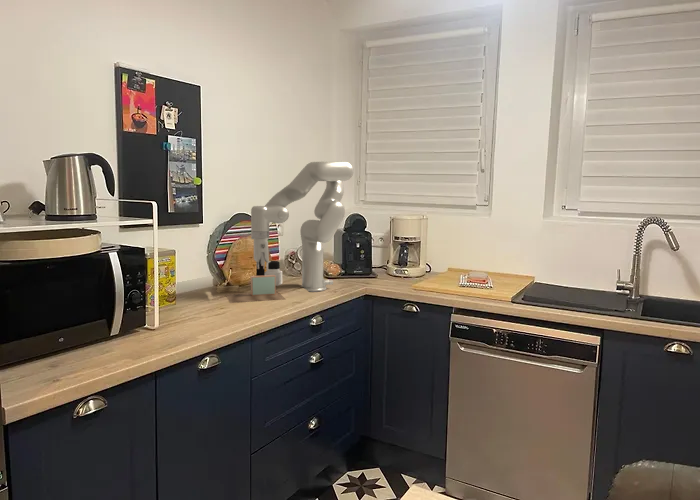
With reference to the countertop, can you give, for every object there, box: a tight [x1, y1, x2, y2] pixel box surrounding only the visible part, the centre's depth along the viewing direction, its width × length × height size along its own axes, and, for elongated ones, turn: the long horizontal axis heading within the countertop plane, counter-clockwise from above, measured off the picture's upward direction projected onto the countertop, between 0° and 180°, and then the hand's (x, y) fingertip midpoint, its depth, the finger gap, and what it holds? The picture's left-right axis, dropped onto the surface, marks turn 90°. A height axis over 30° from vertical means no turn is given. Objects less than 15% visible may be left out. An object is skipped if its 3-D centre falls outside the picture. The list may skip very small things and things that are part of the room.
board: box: [224, 290, 286, 304], centre depth 214 cm, size 22×16×2 cm
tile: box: [250, 275, 277, 296], centre depth 217 cm, size 10×2×8 cm, turn 111°
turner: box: [216, 285, 240, 293], centre depth 225 cm, size 17×7×4 cm, turn 111°
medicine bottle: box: [265, 260, 283, 287], centre depth 241 cm, size 7×7×12 cm
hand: (260, 278), depth 222 cm, fingers closed
